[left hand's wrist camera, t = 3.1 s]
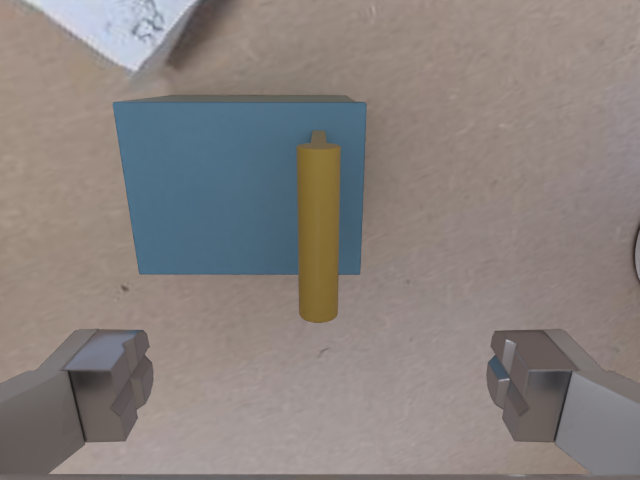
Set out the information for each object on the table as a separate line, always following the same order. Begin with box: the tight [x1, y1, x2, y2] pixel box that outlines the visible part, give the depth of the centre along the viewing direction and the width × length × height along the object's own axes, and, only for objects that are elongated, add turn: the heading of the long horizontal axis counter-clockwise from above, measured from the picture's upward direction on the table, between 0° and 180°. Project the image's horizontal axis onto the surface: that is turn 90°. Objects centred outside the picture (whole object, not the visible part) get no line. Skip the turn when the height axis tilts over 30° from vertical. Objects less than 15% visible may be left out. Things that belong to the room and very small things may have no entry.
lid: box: [113, 102, 366, 323], centre depth 21 cm, size 13×10×8 cm
